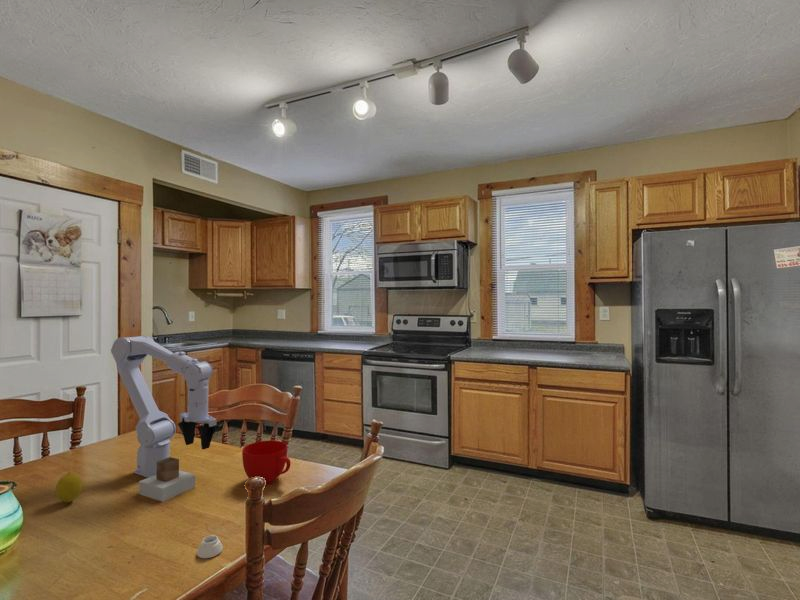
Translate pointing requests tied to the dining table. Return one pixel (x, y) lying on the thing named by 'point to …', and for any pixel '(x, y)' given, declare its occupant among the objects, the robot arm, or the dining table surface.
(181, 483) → the base block
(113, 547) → the dining table surface
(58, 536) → the dining table surface
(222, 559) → the dining table surface
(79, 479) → the lemon
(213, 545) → the white tapered collar
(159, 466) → the walnut block
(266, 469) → the ceramic cup
